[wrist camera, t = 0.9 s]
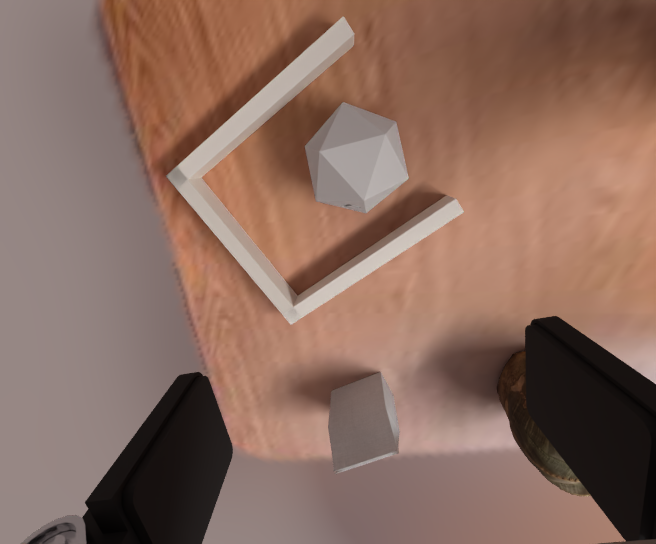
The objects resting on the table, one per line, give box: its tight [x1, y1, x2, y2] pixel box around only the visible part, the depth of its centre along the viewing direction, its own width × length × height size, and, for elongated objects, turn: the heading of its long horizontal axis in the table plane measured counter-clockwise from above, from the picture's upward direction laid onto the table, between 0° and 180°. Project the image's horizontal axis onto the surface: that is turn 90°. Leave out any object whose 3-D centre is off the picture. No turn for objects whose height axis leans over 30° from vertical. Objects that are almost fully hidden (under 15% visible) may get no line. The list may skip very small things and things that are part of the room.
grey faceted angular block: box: [328, 372, 400, 473], centre depth 37 cm, size 4×7×10 cm, turn 118°
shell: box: [497, 351, 591, 496], centre depth 34 cm, size 11×11×12 cm
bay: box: [166, 16, 464, 325], centre depth 32 cm, size 20×19×3 cm
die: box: [305, 102, 409, 213], centre depth 29 cm, size 8×9×10 cm
